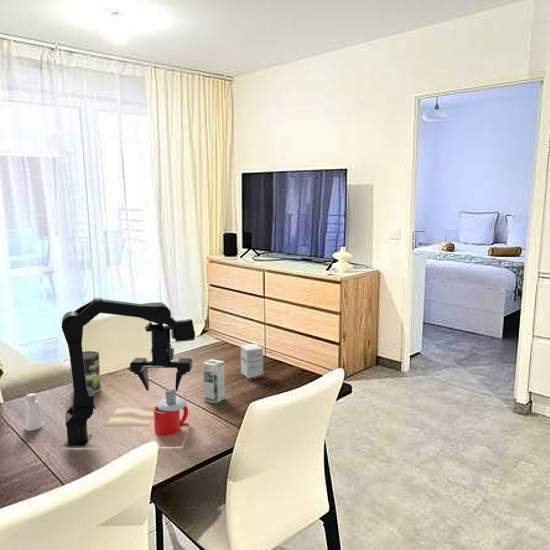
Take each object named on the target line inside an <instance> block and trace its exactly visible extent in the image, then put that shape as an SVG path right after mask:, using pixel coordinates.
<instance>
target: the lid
mask: <svg viewBox="0 0 550 550" xmlns="http://www.w3.org/2000/svg"><path fill="white" fill-rule="evenodd" d="M176 392H177V391H176V389H172V388H171V389H167V390H166V391H165V398H163V399H160V400H158V401H157V402H156V406H157V409H158V410H160V411H165V412H171V411H177V410H179V411H180V410H182V408H184V407H185V405H186V400H185V399H184V398H181V397H178V396H177V395H176V394H177V393H176ZM176 396H177V397H176ZM186 406H187V405H186Z"/></svg>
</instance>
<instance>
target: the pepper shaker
mask: <svg viewBox="0 0 550 550" xmlns="http://www.w3.org/2000/svg"><path fill="white" fill-rule="evenodd" d="M25 398H26V402H25V410H24V411H25V416H24V430H25V431H29V432H31V431H36V430H39V429H41V428H42V427H43V422H42V421H43V420H42V416H41V415H42V414H41V411H40V406H39V400H37V394H36V393H35V392H32V393H31V392H30V393H27V394H26V397H25Z"/></svg>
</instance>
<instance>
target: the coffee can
mask: <svg viewBox="0 0 550 550" xmlns="http://www.w3.org/2000/svg"><path fill="white" fill-rule="evenodd" d="M83 359H84V368H85V376H86V384H87V387H88V390H91V389H93V391H94V394H95V393H99V392H100V391H101V390H102V386H101V385H102V384H101V371H100V370H101V369H100V353H99V352H98V351H91V350H90V351H89V350H88V351H83ZM70 372H71V373H70V374H71V375H72V370H71V369H70ZM71 386H72V387H71V388H72V393H73V392H74V386H73V378H72V377H71Z"/></svg>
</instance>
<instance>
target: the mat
mask: <svg viewBox="0 0 550 550" xmlns="http://www.w3.org/2000/svg"><path fill="white" fill-rule="evenodd" d="M154 407H155V406H154ZM154 407H153V406H150V407H149V406H148V407H147V406H146V407H144V406H143V407H142V406H141V407H139V406H138V407H137V406H136V407H132V406H131V407H127V406H125V407H117V408H116V409H115V411H114V412H113V413H112V415H111V417H110V418H109V419H108V421H107V422H106V423H105V425H104V427H149V425H150V424H151V421H152V420H153V419H154Z"/></svg>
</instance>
